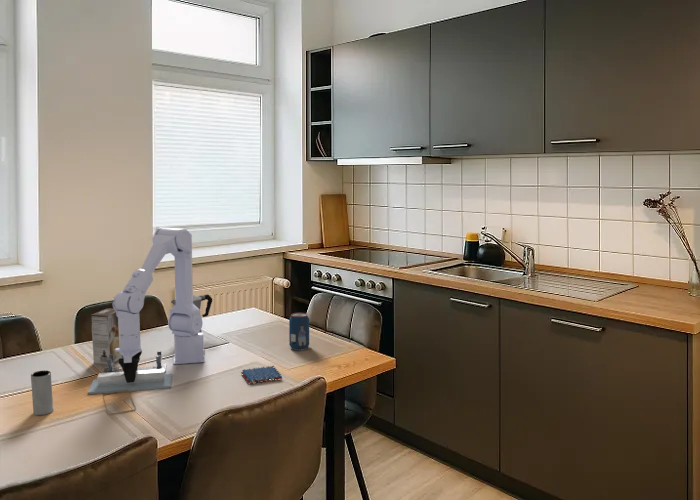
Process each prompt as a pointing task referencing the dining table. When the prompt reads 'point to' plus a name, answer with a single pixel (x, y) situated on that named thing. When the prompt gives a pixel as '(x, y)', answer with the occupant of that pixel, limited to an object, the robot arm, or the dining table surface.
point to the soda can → (299, 331)
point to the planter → (42, 392)
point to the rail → (140, 378)
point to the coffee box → (105, 335)
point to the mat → (130, 386)
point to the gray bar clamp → (158, 366)
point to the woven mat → (261, 374)
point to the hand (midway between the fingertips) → (131, 379)
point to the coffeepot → (197, 303)
